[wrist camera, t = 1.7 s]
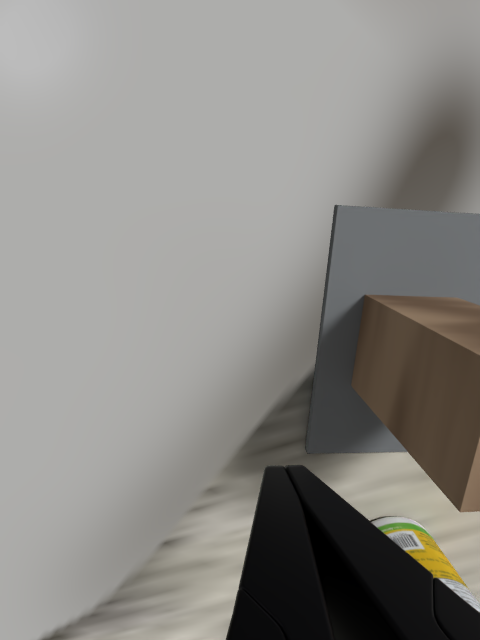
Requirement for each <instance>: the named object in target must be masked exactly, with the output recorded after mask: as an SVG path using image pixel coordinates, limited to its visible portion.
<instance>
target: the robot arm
mask: <svg viewBox="0 0 480 640" xmlns="http://www.w3.org/2000/svg"><path fill="white" fill-rule="evenodd" d="M226 640H480V612H479V611H477V610H476V609H475V608H474V607H472V606H471V605H470V604H469V603H467V602H466V601H465V600H464V599H463V598H461V597H460V596H459V595H458V594H456V593H455V592H454V591H453V590H452V589H450V588H449V587H448V586H447V585H446V584H444V583H443V582H442V581H441V580H440V579H438V578H437V577H435V578H433V574H432V573H431V572H430V571H429V570H427V569H426V568H425V567H424V566H423V565H421V564H420V563H419V562H418V561H417V560H415V559H414V558H413V557H412V556H411V555H410V554H408V553H407V552H406V551H405V550H404V549H402V548H401V547H400V546H399V545H398V544H396V543H395V542H394V541H393V540H392V539H390V538H389V537H388V536H387V535H386V534H384V533H383V532H382V531H381V530H380V529H378V528H377V527H376V526H375V525H374V524H373V523H371V522H370V521H369V520H368V519H367V518H365V517H364V516H363V515H362V514H361V513H359V512H358V511H357V510H356V509H355V508H353V507H352V506H351V505H350V504H349V503H347V502H346V501H345V500H344V499H343V498H341V497H340V496H339V495H338V494H337V493H336V492H334V491H333V490H332V489H331V488H330V487H328V486H327V485H326V484H325V483H324V482H322V481H321V480H320V479H319V478H318V477H316V476H315V475H314V474H313V473H312V472H310V471H309V470H308V469H307V468H306V467H304V466H302V465H287V466H285V467H283V466H266V467H265V470H264V474H263V479H262V483H261V488H260V492H259V497H258V502H257V506H256V511H255V515H254V520H253V524H252V529H251V534H250V538H249V543H248V547H247V552H246V556H245V561H244V566H243V570H242V575H241V579H240V584H239V590H238V592H237V596H236V601H235V606H234V610H233V614H232V618H231V622H230V626H229V630H228V633H227V637H226Z"/></svg>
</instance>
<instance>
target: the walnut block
mask: <svg viewBox="0 0 480 640" xmlns="http://www.w3.org/2000/svg"><path fill="white" fill-rule="evenodd" d="M351 386H352V388H353V389H354V390H355V391H356V392H357V393H358V395H359V396H360V397H361V398H362V399H363V400H364V401H365V403H366V404H367V405H368V406H369V407H370V408H371V410H372V411H373V412H374V413H375V414H376V415H377V417H378V418H379V419H380V420H381V421H382V422H383V424H384V425H385V426H386V427H387V428H388V429H389V430H390V432H391V433H392V434H393V435H394V436H395V437H396V439H397V440H398V441H399V442H400V443H401V444H402V446H403V447H404V448H405V449H406V450H407V451H408V453H409V454H410V455H411V456H412V457H413V458H414V459H415V461H416V462H417V463H418V464H419V465H420V466H421V468H422V469H423V470H424V471H425V472H426V473H427V475H428V476H429V477H430V478H431V479H432V480H433V482H434V483H435V484H436V485H437V486H438V487H439V488H440V490H441V491H442V492H443V493H444V494H445V495H446V497H447V498H448V499H449V500H450V501H451V502H452V504H453V505H454V506H455V507H456V508H457V509H458V511H459V512H475V511H480V305H477V304H474V303H471V302H468V301H466V300H463V299H460V298H454V297H423V296H393V295H365V297H364V303H363V310H362V317H361V323H360V330H359V336H358V343H357V350H356V356H355V363H354V370H353V376H352V383H351Z"/></svg>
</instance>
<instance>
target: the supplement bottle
mask: <svg viewBox="0 0 480 640" xmlns="http://www.w3.org/2000/svg"><path fill="white" fill-rule="evenodd" d="M371 523H373V524H374V525H375V526H376V527H377V528H378V529H380V530H381V531H382V532H383V533H384V534H386V535H387V536H388V537H389V538H390V539H392V540H393V541H394V542H395V543H396V544H398V545H399V546H400V547H401V548H402V549H404V550H405V551H406V552H407V553H408V554H410V555H411V556H412V557H413V558H414V559H415V560H417V561H418V562H419V563H420V564H421V565H423V566H424V567H425V568H426V569H427V570H429V571H430V572H431V573H432V574H433V578H435V577H437V578H438V579H440V580H441V581H442V582H443V583H444V584H446V585H447V586H448V587H449V588H450V589H452V590H453V591H454V592H455V593H456V594H458V595H459V596H460V597H461V598H463V599H464V600H465V601H466V602H467V603H469V604H470V605H471V606H472V607H474V608H475V609H476V610H477V611H479V612H480V604H479V603H478V601H477V600H476V599H475V597H474V596H473V594H472V593H471V591H470V590H469V589H468V587H467V586H466V584H465V583H464V582H463V580H462V579H461V577H460V576H459V575H458V573H457V572H456V571H455V569H454V568H453V566H452V565H451V564H450V562H449V561H448V559H447V558H446V557H445V555H444V554H443V552H442V551H441V550H440V548H439V547H438V545H437V544H436V543H435V541H434V540H433V538H432V537H431V536H430V534H429V533H428V532H427V531H426V529H425V528H424V527H423V526H422V525H420V524H419V523H418V522H416V521H414V520H412V519H409V518H405V517H385V518H381V519H377V520H375V521H372V522H371Z"/></svg>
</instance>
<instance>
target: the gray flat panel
mask: <svg viewBox="0 0 480 640" xmlns="http://www.w3.org/2000/svg"><path fill="white" fill-rule="evenodd" d="M365 295H393V296H423V297H454V298H460V299H463V300H466V301H468V302H471V303H474V304H477V305H480V214H472V213H454V212H438V211H423V210H405V209H391V208H374V207H359V206H342V205H335V207H334V215H333V223H332V231H331V240H330V248H329V257H328V265H327V273H326V282H325V290H324V298H323V306H322V314H321V323H320V332H319V339H318V348H317V356H316V364H315V372H314V381H313V389H312V397H311V406H310V414H309V422H308V430H307V439H306V447H305V449H306V451H307V454H310V453H359V452H408V451H407V450H406V449H405V448H404V447H403V446H402V444H401V443H400V442H399V441H398V440H397V439H396V437H395V436H394V435H393V434H392V433H391V432H390V430H389V429H388V428H387V427H386V426H385V425H384V424H383V422H382V421H381V420H380V419H379V418H378V417H377V415H376V414H375V413H374V412H373V411H372V410H371V408H370V407H369V406H368V405H367V404H366V403H365V401H364V400H363V399H362V398H361V397H360V396H359V395H358V393H357V392H356V391H355V390H354V389H353V388H352V386H351V383H352V376H353V370H354V363H355V356H356V350H357V343H358V336H359V330H360V323H361V317H362V310H363V303H364V297H365Z"/></svg>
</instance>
